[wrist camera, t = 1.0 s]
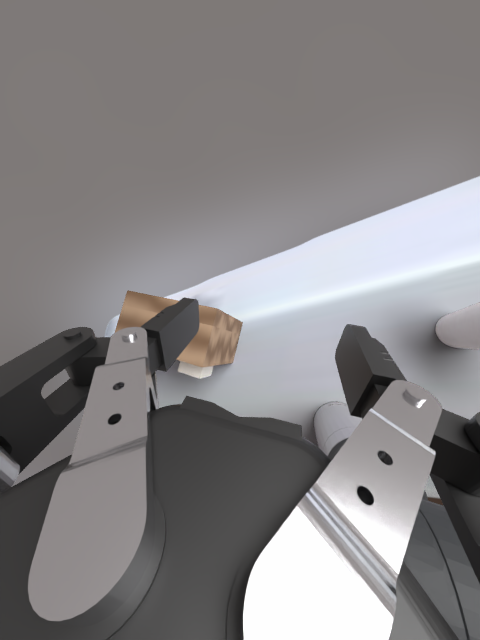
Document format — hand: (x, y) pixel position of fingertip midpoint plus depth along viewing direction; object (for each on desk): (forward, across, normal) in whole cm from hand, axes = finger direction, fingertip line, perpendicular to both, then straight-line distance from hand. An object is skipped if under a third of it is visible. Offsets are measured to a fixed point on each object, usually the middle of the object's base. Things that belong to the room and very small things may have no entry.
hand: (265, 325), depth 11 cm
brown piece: (+29, -17, -23) cm, 41 cm away
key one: (+20, -13, -24) cm, 34 cm away
